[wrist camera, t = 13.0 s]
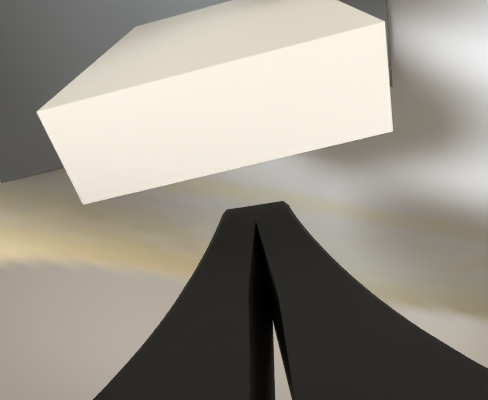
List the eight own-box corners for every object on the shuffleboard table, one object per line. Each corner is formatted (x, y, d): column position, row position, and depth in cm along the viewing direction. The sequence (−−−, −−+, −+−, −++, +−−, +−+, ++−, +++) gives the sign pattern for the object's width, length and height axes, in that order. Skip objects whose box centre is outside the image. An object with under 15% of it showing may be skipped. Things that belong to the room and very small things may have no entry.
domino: (307, 38, 14) (393, 131, 7) (153, 78, 14) (83, 204, 7) (297, -18, 13) (384, 21, 6) (135, 26, 13) (36, 111, 6)
